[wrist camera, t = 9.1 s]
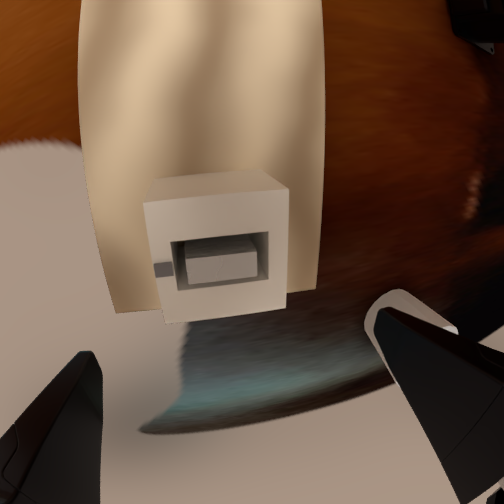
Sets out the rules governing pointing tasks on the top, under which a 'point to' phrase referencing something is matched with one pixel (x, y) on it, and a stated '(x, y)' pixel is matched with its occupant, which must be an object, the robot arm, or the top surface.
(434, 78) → the top surface
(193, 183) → the box
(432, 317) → the shot glass
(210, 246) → the post
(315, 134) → the maple board
